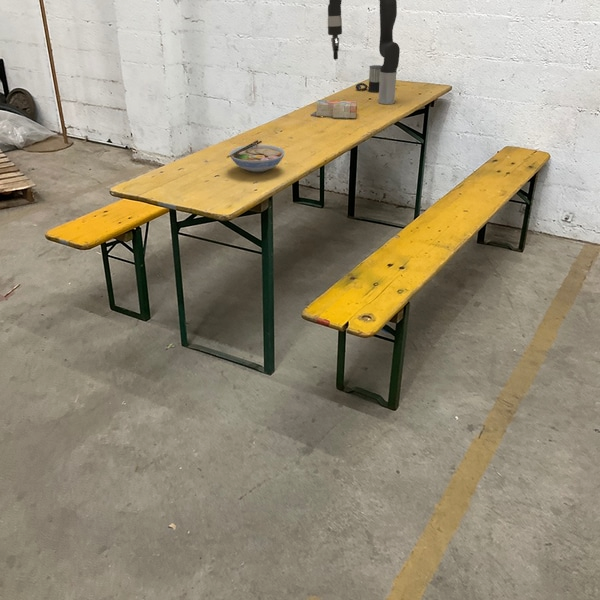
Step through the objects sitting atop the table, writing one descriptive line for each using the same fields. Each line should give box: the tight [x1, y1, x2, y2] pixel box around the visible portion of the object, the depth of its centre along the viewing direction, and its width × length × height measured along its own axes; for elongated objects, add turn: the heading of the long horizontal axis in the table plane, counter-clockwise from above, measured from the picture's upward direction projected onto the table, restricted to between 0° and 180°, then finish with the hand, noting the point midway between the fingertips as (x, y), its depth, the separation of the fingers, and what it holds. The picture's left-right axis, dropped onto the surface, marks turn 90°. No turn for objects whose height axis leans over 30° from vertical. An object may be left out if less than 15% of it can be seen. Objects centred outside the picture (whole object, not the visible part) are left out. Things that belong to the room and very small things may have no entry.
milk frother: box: [355, 64, 382, 94], centre depth 387 cm, size 14×16×15 cm
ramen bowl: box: [226, 139, 286, 174], centre depth 256 cm, size 25×23×8 cm
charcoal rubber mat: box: [310, 110, 349, 120], centre depth 335 cm, size 9×21×1 cm, turn 67°
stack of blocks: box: [315, 99, 358, 119], centre depth 333 cm, size 21×6×12 cm
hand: (335, 59), depth 341 cm, fingers closed
